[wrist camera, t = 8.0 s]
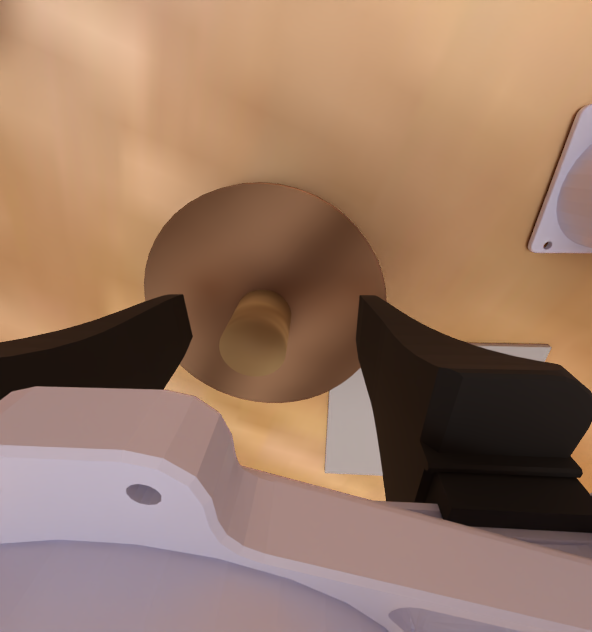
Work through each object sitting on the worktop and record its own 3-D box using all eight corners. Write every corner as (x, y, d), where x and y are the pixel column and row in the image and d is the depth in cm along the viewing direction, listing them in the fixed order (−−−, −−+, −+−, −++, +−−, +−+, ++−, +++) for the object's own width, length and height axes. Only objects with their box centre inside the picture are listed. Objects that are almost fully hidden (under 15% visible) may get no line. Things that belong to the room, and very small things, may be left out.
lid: (436, 273, 16) (474, 309, 12) (304, 421, 22) (302, 477, 18) (202, 119, 13) (155, 102, 9) (125, 337, 19) (77, 382, 15)
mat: (547, 344, 23) (551, 347, 22) (483, 476, 31) (485, 480, 30) (332, 340, 24) (332, 342, 23) (324, 469, 32) (324, 473, 31)
